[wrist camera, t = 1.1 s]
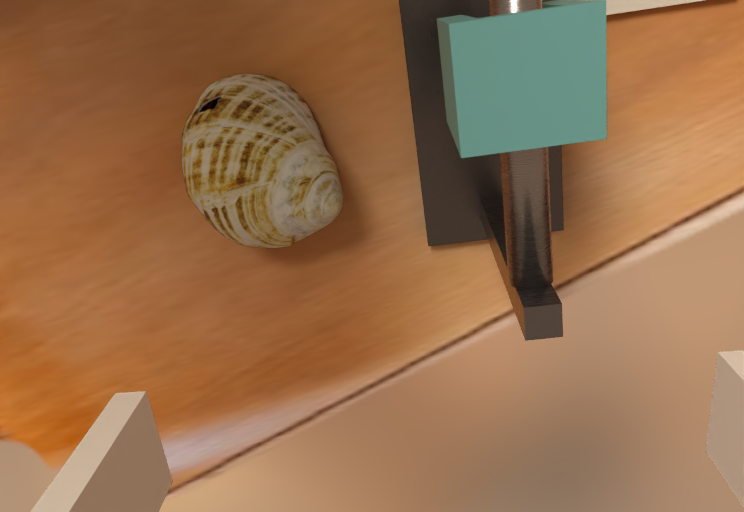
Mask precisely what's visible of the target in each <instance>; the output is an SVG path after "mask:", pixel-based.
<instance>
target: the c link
mask: <svg viewBox="0 0 744 512" xmlns="http://www.w3.org/2000/svg"><path fill="white" fill-rule="evenodd" d="M437 27H438V37H439V47H440V57H441V67H442V77H443V87H444V97H445V108H446V118H447V123H448V126H449V128H450V131H451V133H452V136H453V139H454V141H455V144H456V146H457V149H458V151H459V154H460V156H461V158H466V157H474V156H481V155H489V154H497V153H504V152H512V151H519V150H527V149H534V148H542V147H549V146H557V145H564V144H572V143H580V142H587V141H595V140H602V139H607V80H606V0H554V1H547V2H542V9H535V10H529V11H522V12H515V13H509V14H502V15H496V16H489V17H483V18H475V17H470V16H465V15H456V16H450V17H443V18H437Z"/></svg>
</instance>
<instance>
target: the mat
mask: <svg viewBox="0 0 744 512" xmlns="http://www.w3.org/2000/svg"><path fill="white" fill-rule="evenodd" d="M697 1H704V0H606V15H611V14H617V13H624V12H631V11H637V10H644V9H651V8H657V7H664V6H671V5H677V4H684V3H690V2H697Z"/></svg>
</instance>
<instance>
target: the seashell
mask: <svg viewBox="0 0 744 512" xmlns="http://www.w3.org/2000/svg"><path fill="white" fill-rule="evenodd" d="M220 97H221V99H219V100H218V103H217V105H216V107H215V108H214V109H210V106H211V103H212V101H213V100H214V99H216V98H220ZM222 97H223V98H222ZM182 144H183V149H182V171H183V175H184V181H185V185H186V190H187V194H188V196H189V197H190V199H191V200H192V201H193V202H194V204H195V205H196V207H197V208H198V209H199V211H200V212H201V213H202V215H203V216H204V217H205V218H206V220H207V221H208V222H209V223H210V224H211V225H212V226H213V227H214V228H215V229H216V230H217V231H219V232H220V233H221V234H222V235H223V236H225V237H226V238H228V239H230V240H232V241H234V242H236V243H239V244H241V245H244V246H250V247H258V248H280V247H286V246H291V245H292V244H294V243H295V242H297V241H298V240H302V239H304V238H306V237H308V236H310V235H312V234H313V233H315V232H316V231H318V230H321V229H323V228H324V227H326V226H327V225H328V224H330V223H331V222H332V221H334V220H335V218H336V217H337V216H338V215H339V213H340V212H341V208H342V205H343V192H342V188H341V186H340V180H339V175H338V170H337V167H336V164H335V162H334V160H333V159H332V157H331V155H330V154H329V153H328V152H327V150H326V148H325V146H324V143H323V140H322V137H321V133H320V131H319V128H318V126H317V124H316V121H315V119H314V117H313V115H312V113H311V111H310V109H309V107H308V106H307V104H306V102H305V101H304V100H303V99H302V98H301V97H300V96H299V94H298V93H297V92H296V91H295V90H294V89H292V88H291V87H290V86H288V85H287V84H285V83H284V82H282V81H279V80H277V79H275V78H273V77H269V76H265V75H259V74H239V75H233V76H229V77H226V78H223V79H221V80H218V81H216V82H214V83H212V84H211V85H210V86H208V87H207V88H206V90H205V91H204V92H203V93H202V95H201V96H200V98H199V100H198V103H197V105H196V106H195V108H194V110H193V112H192V113H191V115H190V116H189V117H188V119H187V122H186V124H185V126H184V129H183V133H182Z"/></svg>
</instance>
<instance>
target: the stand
mask: <svg viewBox="0 0 744 512" xmlns="http://www.w3.org/2000/svg"><path fill="white" fill-rule="evenodd" d="M547 1H554V0H399V4H400V13H401V21H402V29H403V38H404V46H405V54H406V63H407V71H408V79H409V88H410V96H411V104H412V113H413V121H414V129H415V138H416V146H417V155H418V163H419V171H420V180H421V188H422V196H423V205H424V213H425V221H426V230H427V238H428V246H435V245H444V244H452V243H461V242H469V241H477V240H486V239H488V241H489V243H490V246H491V249H492V251H493V254H494V257H495V260H496V262H497V265H498V268H499V270H500V273H501V276H502V278H503V281H504V284H505V287H506V289H507V292H508V295H509V297H510V300H511V303H512V305H513V308H514V311H515V314H516V316H517V319H518V322H519V324H520V327H521V330H522V332H523V335H524V338H525V340H535V339H545V338H554V337H562V336H563V325H562V303H561V301H560V299H559V298H558V296H557V294H556V292H555V290H554V288H553V286H552V285H551V283H552V282H553V265H552V240H551V232H552V231H561V230H564V227H563V195H562V163H561V145H557V146H549V147H542V148H534V149H527V150H519V151H512V152H504V153H497V154H489V155H481V156H474V157H466V158H461V156H460V154H459V151H458V149H457V146H456V144H455V141H454V139H453V136H452V133H451V131H450V128H449V126H448V123H447V118H446V108H445V97H444V87H443V77H442V67H441V57H440V47H439V37H438V27H437V18H443V17H450V16H456V15H465V16H470V17H475V18H483V17H489V16H496V15H502V14H509V13H515V12H522V11H529V10H535V9H542V2H547Z"/></svg>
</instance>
